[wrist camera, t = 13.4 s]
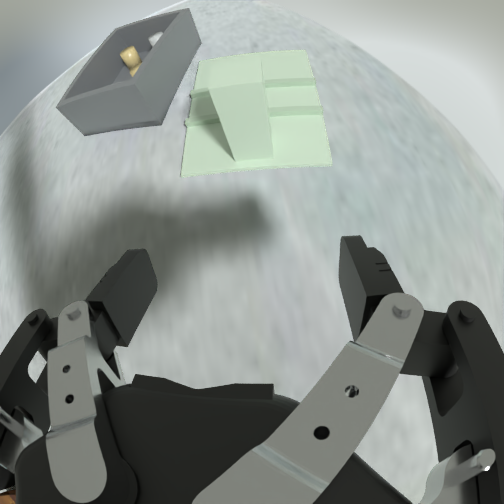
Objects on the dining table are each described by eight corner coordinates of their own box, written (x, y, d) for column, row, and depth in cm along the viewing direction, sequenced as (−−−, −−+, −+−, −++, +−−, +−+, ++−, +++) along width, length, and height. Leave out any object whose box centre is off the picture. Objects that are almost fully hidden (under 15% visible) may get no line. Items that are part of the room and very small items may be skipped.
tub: (84, 135, 25) (55, 107, 19) (131, 56, 28) (115, 28, 23) (161, 125, 23) (134, 84, 18) (201, 42, 27) (188, 8, 21)
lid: (184, 180, 22) (134, 114, 13) (201, 65, 26) (178, 8, 17) (331, 169, 20) (347, 88, 12) (305, 55, 24) (303, -9, 16)
